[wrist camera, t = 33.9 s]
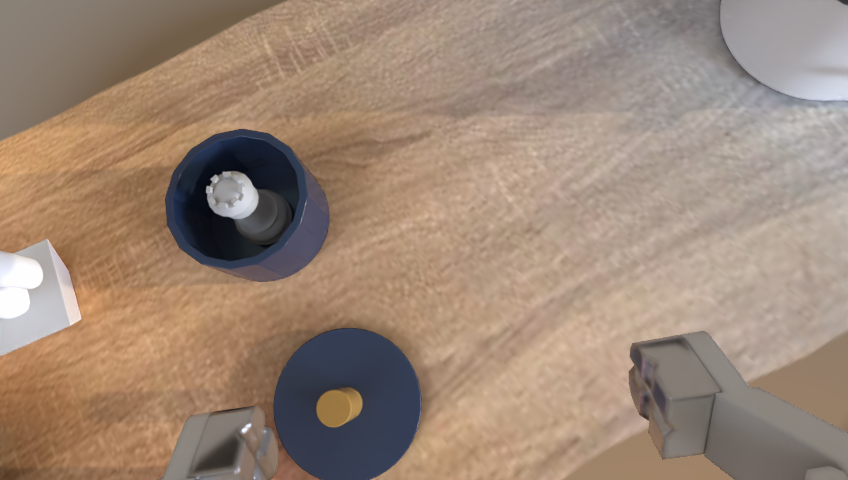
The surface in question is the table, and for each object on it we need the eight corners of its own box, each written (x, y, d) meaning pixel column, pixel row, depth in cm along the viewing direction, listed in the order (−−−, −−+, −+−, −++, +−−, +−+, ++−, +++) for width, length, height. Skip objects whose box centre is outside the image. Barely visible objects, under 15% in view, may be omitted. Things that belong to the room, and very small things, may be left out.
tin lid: (372, 301, 42) (360, 293, 37) (450, 425, 39) (448, 435, 34) (253, 380, 41) (224, 383, 36) (324, 511, 39) (304, 533, 34)
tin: (290, 139, 45) (262, 104, 39) (352, 236, 43) (333, 215, 37) (187, 204, 45) (141, 179, 38) (244, 306, 43) (206, 297, 36)
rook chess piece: (231, 212, 44) (180, 180, 36) (277, 183, 44) (237, 145, 36) (256, 257, 43) (210, 234, 35) (303, 227, 43) (268, 198, 35)
